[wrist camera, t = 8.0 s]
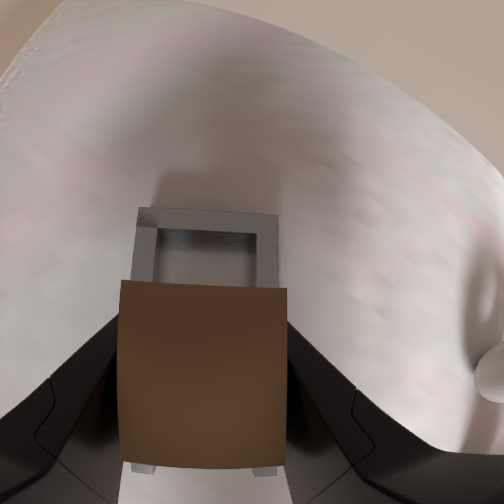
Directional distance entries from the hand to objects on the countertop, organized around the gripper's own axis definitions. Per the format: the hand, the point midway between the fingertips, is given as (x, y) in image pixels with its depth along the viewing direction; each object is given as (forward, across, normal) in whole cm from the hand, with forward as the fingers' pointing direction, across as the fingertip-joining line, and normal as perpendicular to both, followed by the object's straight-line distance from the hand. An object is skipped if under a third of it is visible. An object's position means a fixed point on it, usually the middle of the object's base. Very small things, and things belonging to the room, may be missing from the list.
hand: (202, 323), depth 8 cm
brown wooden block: (+4, 0, +6) cm, 8 cm away
